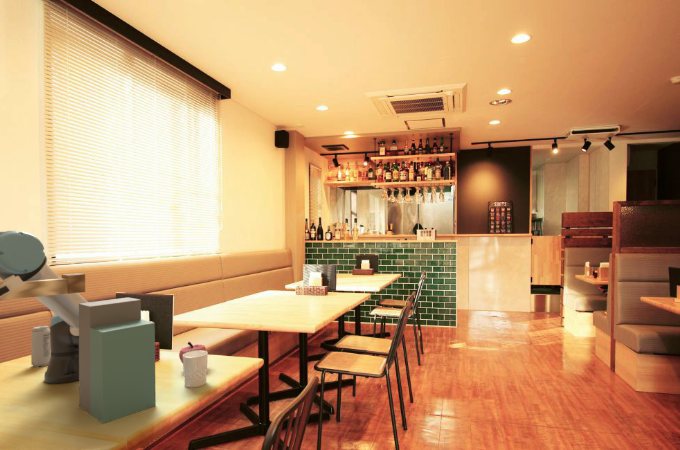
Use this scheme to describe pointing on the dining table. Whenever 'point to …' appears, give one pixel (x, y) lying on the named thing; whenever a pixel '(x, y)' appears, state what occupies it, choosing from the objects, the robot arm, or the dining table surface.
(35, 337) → the energy drink can
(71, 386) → the dining table surface
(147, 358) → the stand
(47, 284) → the wooden bar
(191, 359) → the white cup
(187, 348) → the apple
